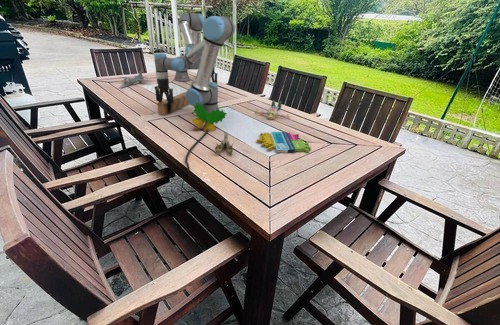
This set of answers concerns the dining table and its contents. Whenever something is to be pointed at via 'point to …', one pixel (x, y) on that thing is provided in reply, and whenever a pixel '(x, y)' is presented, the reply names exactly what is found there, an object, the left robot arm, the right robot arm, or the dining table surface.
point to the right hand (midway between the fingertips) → (166, 111)
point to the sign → (283, 142)
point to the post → (178, 103)
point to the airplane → (133, 80)
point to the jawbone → (224, 145)
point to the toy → (273, 111)
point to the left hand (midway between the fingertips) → (210, 91)
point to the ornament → (207, 117)
